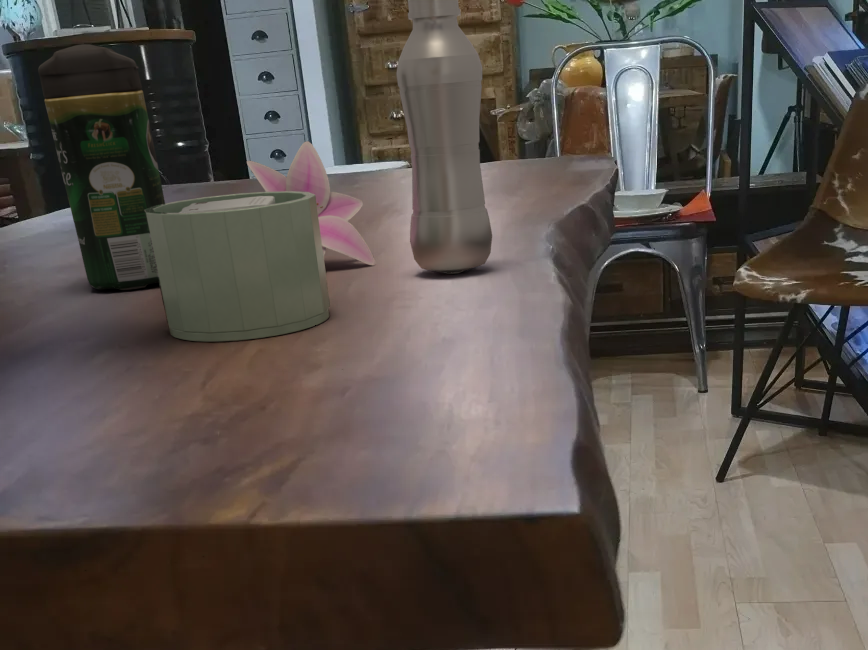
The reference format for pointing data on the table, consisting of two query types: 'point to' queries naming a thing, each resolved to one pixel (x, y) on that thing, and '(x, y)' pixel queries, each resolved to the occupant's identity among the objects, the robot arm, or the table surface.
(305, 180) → the lily
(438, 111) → the plastic bottle
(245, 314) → the green flower pot
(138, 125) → the coffee jar
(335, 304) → the table surface
